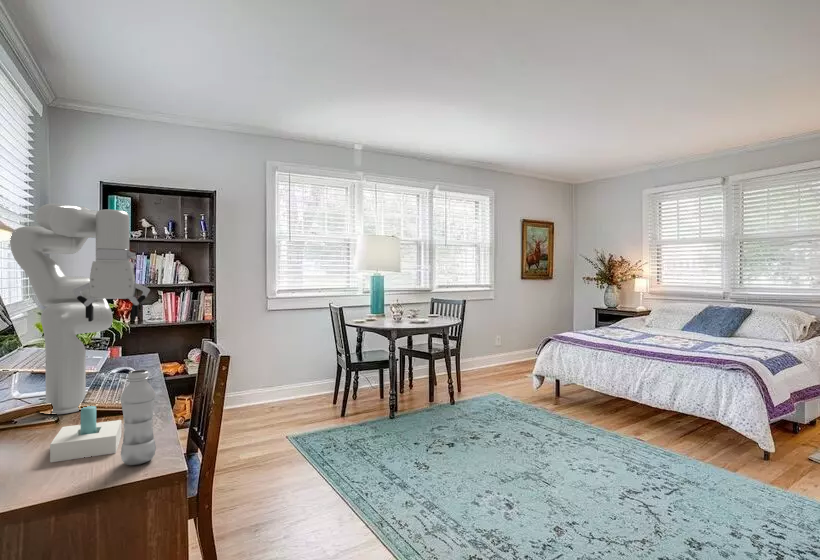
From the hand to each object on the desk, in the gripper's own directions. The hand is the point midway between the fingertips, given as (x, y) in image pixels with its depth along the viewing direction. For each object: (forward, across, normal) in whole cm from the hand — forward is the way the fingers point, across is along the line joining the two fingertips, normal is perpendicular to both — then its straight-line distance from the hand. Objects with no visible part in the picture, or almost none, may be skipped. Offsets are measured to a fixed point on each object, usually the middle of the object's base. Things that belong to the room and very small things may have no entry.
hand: (112, 320), depth 121 cm
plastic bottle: (+28, -8, +30) cm, 42 cm away
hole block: (+28, +3, +16) cm, 33 cm away
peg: (+28, +3, +16) cm, 33 cm away
